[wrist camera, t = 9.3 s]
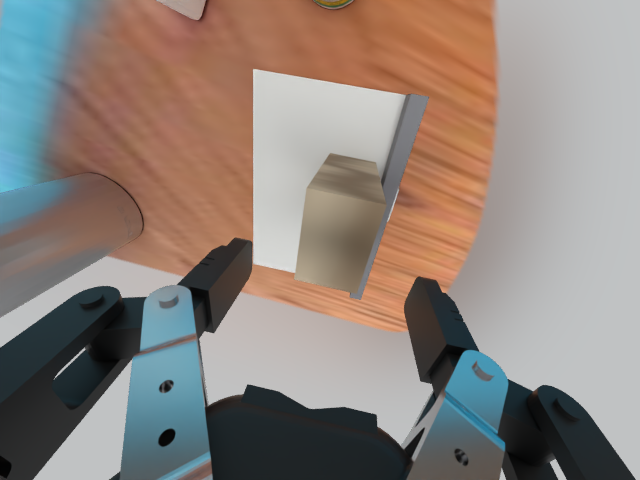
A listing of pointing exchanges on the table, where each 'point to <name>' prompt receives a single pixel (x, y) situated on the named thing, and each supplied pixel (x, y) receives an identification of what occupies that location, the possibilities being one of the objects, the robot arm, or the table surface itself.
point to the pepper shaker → (186, 7)
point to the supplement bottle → (333, 3)
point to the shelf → (320, 152)
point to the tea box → (340, 223)
